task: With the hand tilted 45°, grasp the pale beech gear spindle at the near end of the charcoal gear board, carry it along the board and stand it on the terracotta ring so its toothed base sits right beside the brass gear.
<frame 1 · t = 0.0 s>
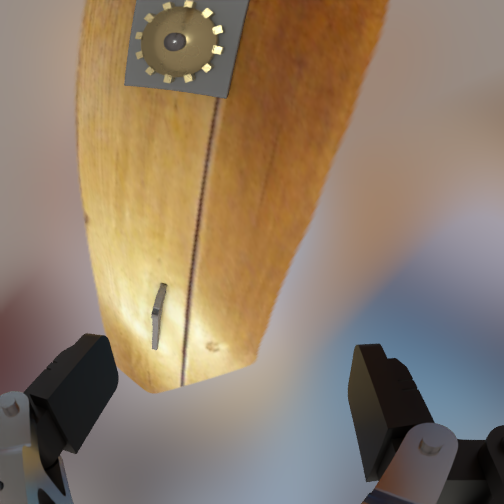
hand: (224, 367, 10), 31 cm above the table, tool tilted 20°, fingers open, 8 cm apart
caliper: (159, 318, 58), on the table
brass gear: (181, 41, 28), resting on gear board
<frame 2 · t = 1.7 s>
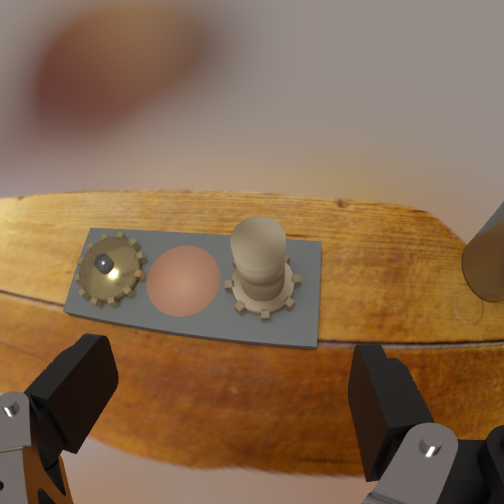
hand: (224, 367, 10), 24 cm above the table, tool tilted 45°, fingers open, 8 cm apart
gear board: (185, 284, 37), on the table
beech gear spindle: (263, 286, 35), point 1 cm above the table, touching gear board
brass gear: (112, 272, 37), resting on gear board
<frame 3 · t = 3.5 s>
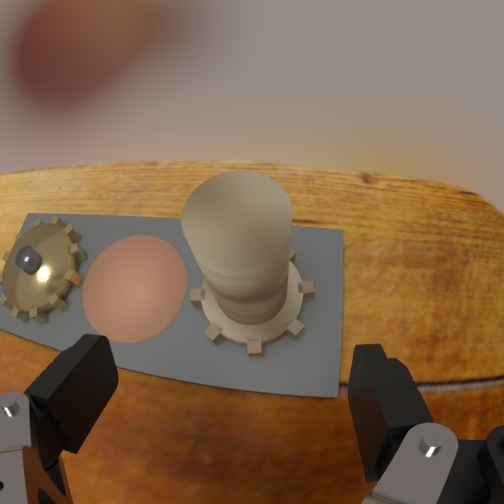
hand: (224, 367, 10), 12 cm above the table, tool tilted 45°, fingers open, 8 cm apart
gear board: (138, 293, 24), on the table
beech gear spindle: (253, 299, 22), point 1 cm above the table, touching gear board
brass gear: (43, 272, 24), resting on gear board
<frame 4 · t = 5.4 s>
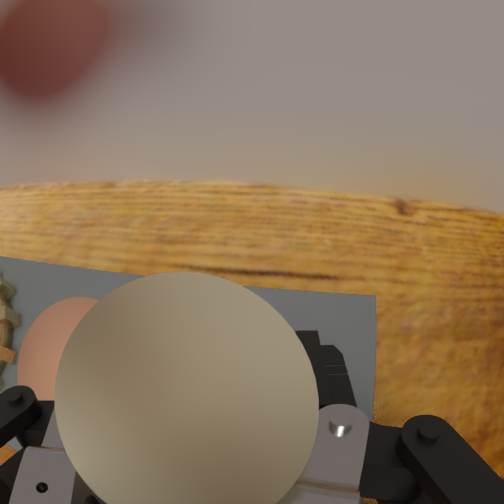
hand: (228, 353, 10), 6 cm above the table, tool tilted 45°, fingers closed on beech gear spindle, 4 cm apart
gear board: (85, 376, 16), on the table
beech gear spindle: (239, 410, 13), point 2 cm above the table, touching gear board, gripper
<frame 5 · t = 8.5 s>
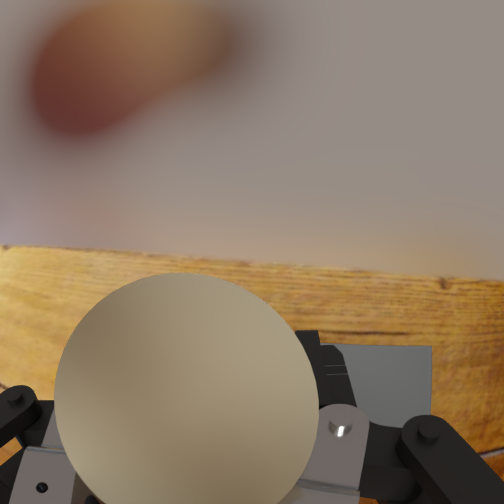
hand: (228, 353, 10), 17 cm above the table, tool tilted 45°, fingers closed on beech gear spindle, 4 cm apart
gear board: (256, 409, 25), on the table
beech gear spindle: (239, 410, 13), point 13 cm above the table, touching gripper
when the fingers open (7 cm above the table, at t = 11.2 s): beech gear spindle drops 1 cm, resting on gear board.
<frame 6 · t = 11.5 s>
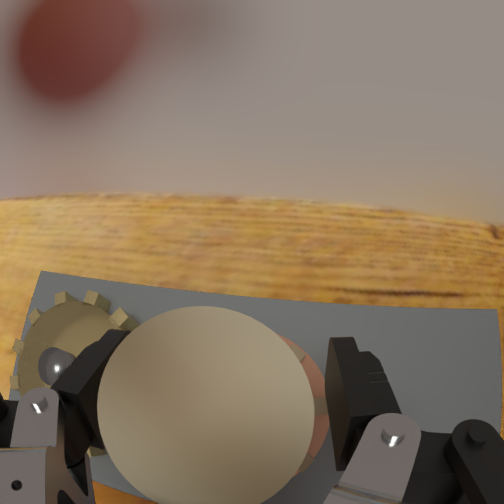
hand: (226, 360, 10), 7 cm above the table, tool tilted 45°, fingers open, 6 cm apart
gear board: (245, 410, 16), on the table
beech gear spindle: (244, 412, 14), point 2 cm above the table, touching gear board
brass gear: (82, 375, 16), resting on gear board
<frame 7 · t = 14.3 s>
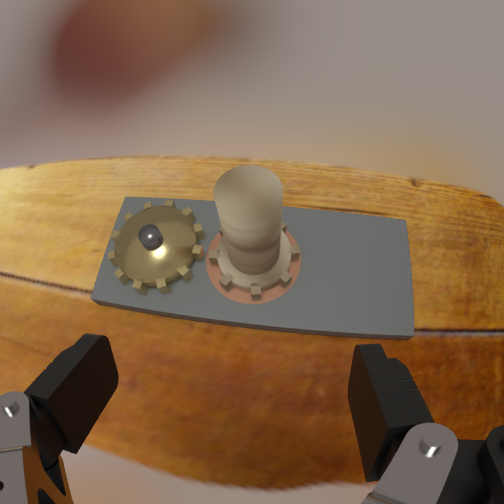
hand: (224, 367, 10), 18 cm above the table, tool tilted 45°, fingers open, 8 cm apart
gear board: (254, 265, 31), on the table
beech gear spindle: (254, 259, 29), point 2 cm above the table, touching gear board
brass gear: (158, 249, 30), resting on gear board
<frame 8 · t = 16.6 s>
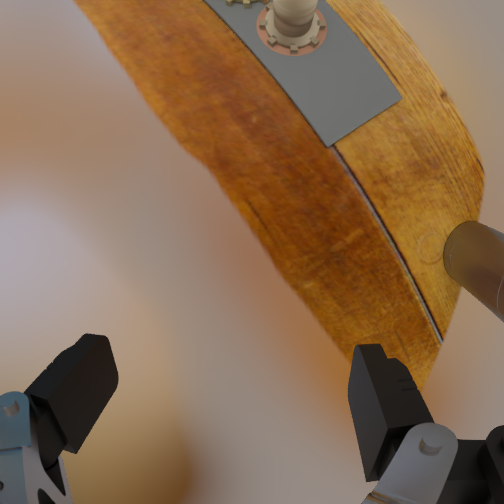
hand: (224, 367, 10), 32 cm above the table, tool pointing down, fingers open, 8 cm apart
gear board: (291, 30, 33), on the table
beech gear spindle: (292, 26, 32), point 2 cm above the table, touching gear board
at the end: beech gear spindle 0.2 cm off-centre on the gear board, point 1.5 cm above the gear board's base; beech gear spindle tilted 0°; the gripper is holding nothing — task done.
